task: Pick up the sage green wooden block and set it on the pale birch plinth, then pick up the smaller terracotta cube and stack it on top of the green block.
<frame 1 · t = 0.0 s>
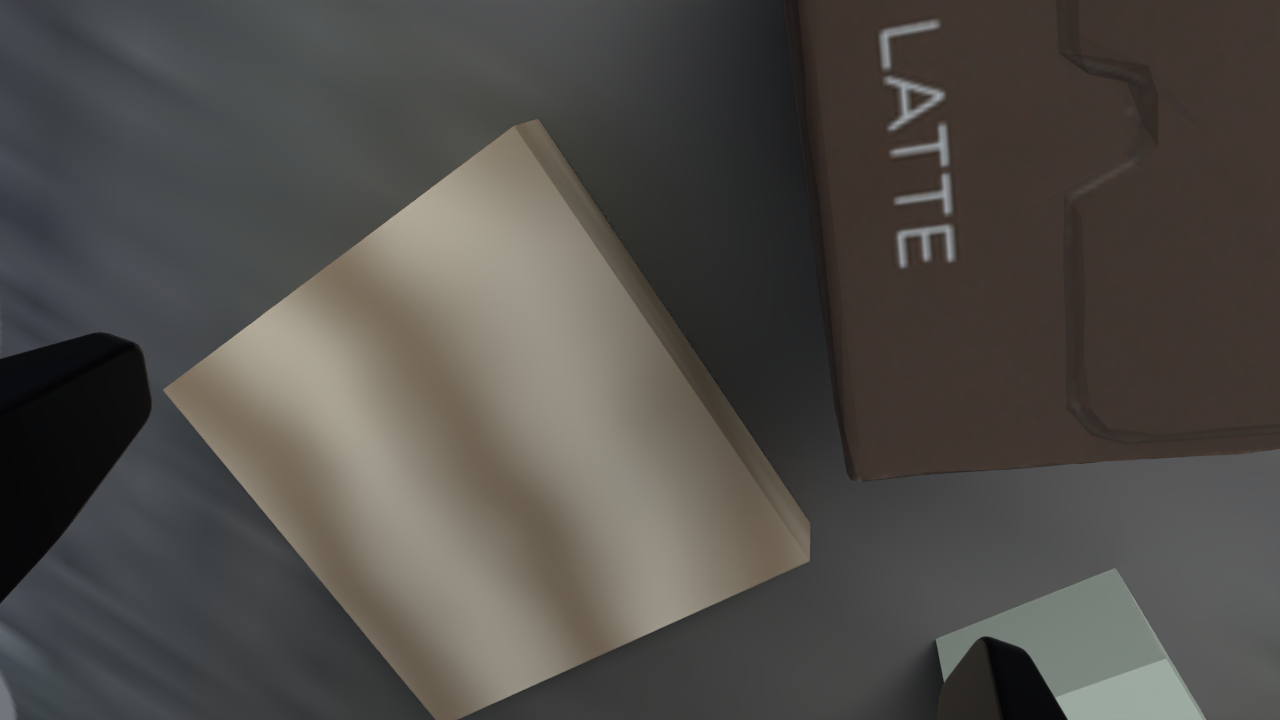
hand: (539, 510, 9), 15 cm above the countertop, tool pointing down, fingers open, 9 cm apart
birch plinth: (495, 441, 27), on the countertop
sage block: (1064, 670, 26), on the countertop
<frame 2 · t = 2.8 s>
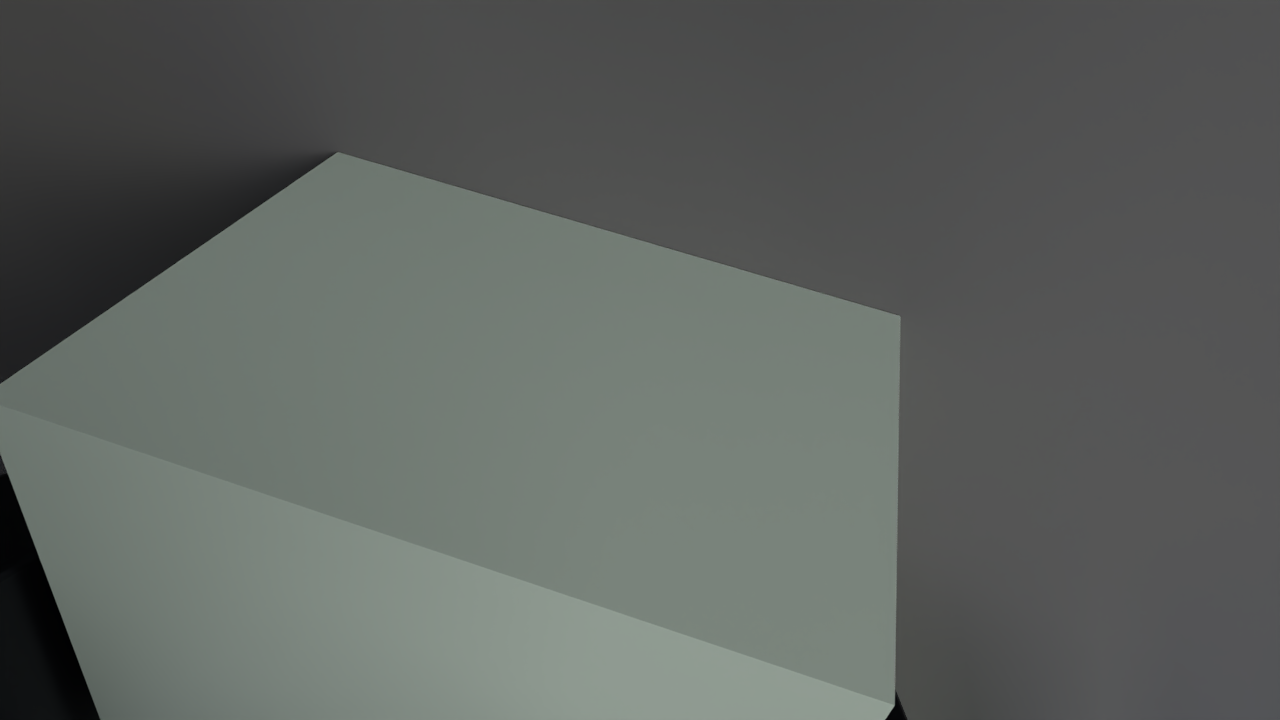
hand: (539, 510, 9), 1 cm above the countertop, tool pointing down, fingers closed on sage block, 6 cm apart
sage block: (571, 444, 10), on the countertop, touching gripper
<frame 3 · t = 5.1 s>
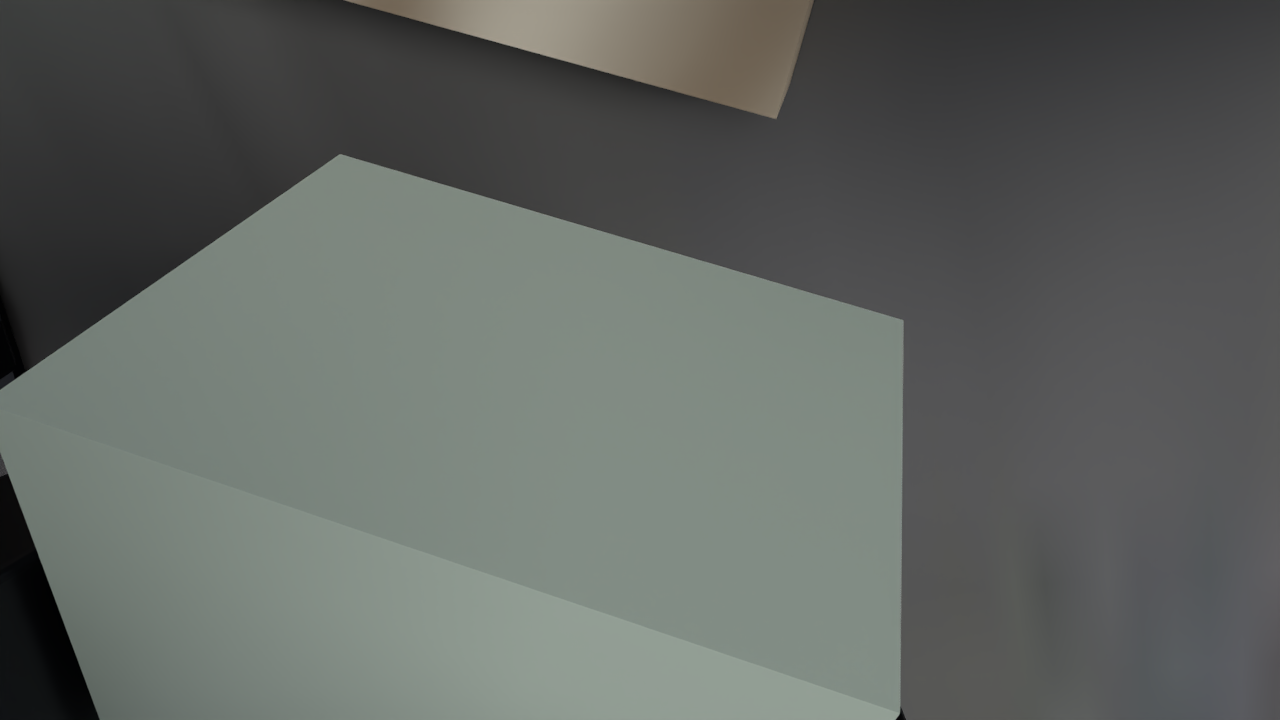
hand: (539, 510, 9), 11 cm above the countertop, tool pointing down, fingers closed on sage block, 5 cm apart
sage block: (572, 447, 10), point 10 cm above the countertop, touching gripper
when the fingers open (4 cm above the countertop, at t = 7.4 s): sage block drops 1 cm, resting on birch plinth.
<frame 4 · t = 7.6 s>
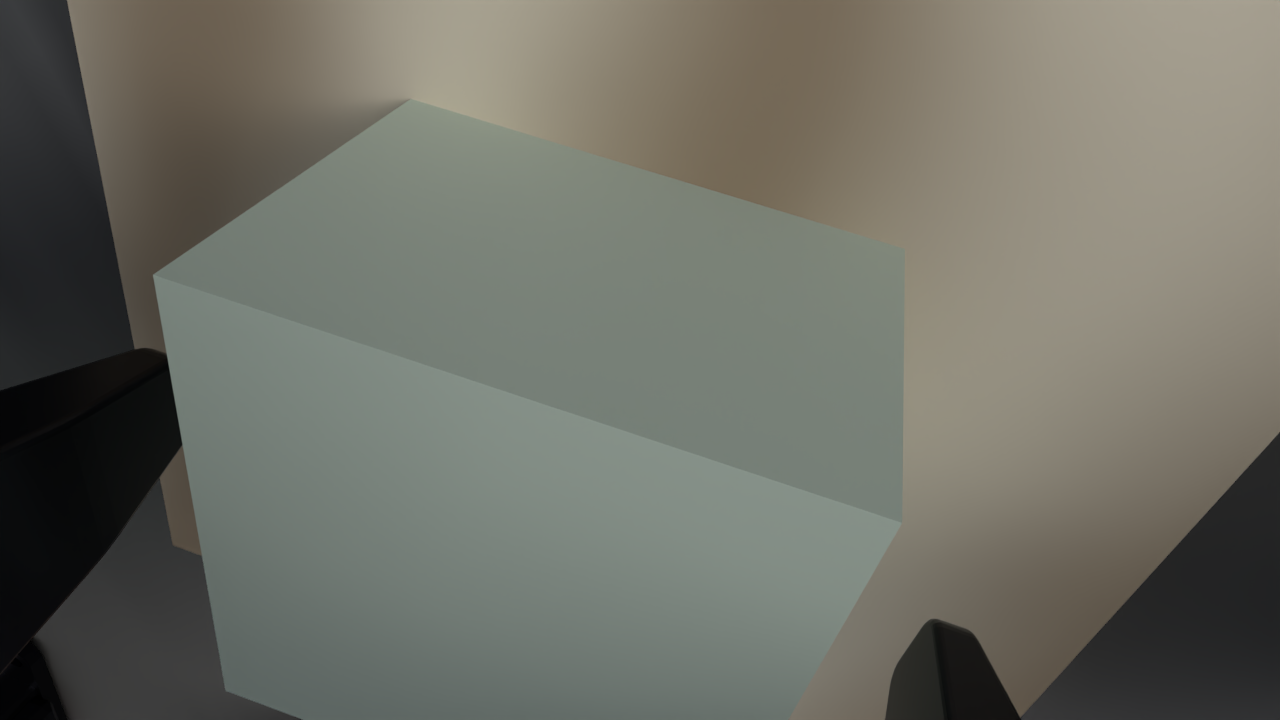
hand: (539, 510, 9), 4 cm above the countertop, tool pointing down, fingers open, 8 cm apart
birch plinth: (648, 292, 12), on the countertop
sage block: (606, 370, 11), point 2 cm above the countertop, touching birch plinth
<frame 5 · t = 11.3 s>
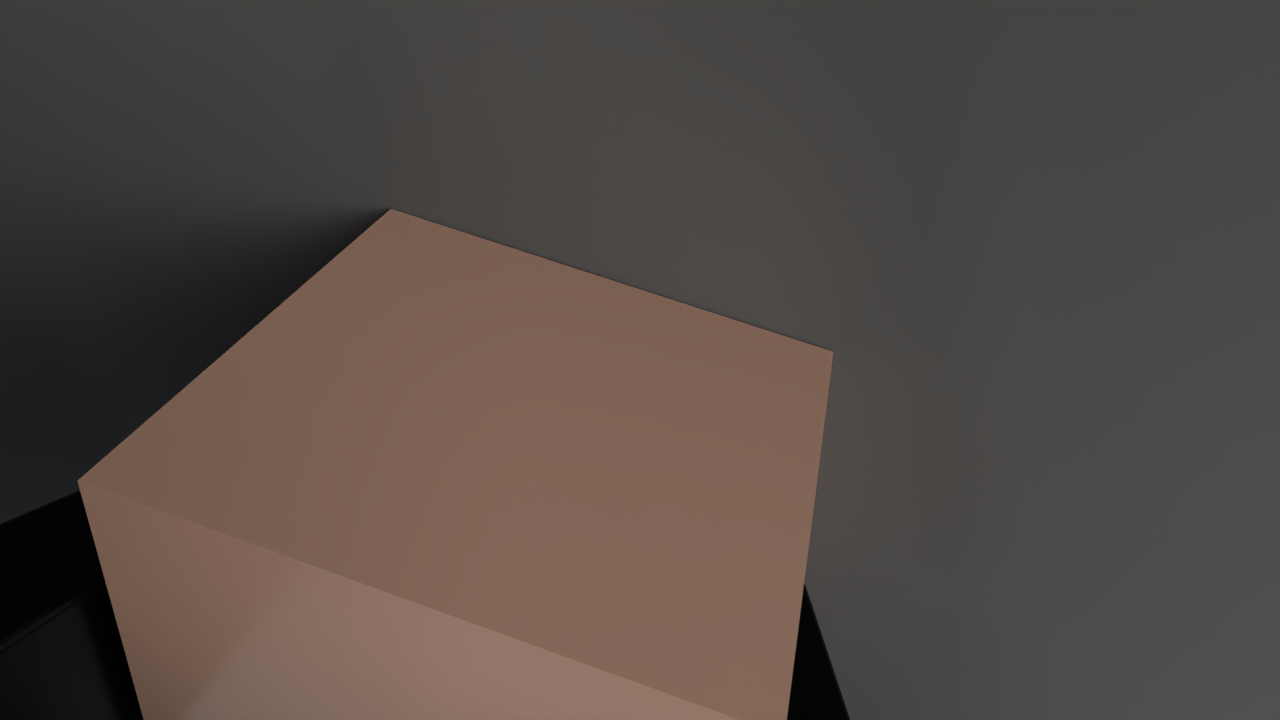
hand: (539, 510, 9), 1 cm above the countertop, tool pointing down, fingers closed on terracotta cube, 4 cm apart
terracotta cube: (570, 445, 10), on the countertop, touching gripper
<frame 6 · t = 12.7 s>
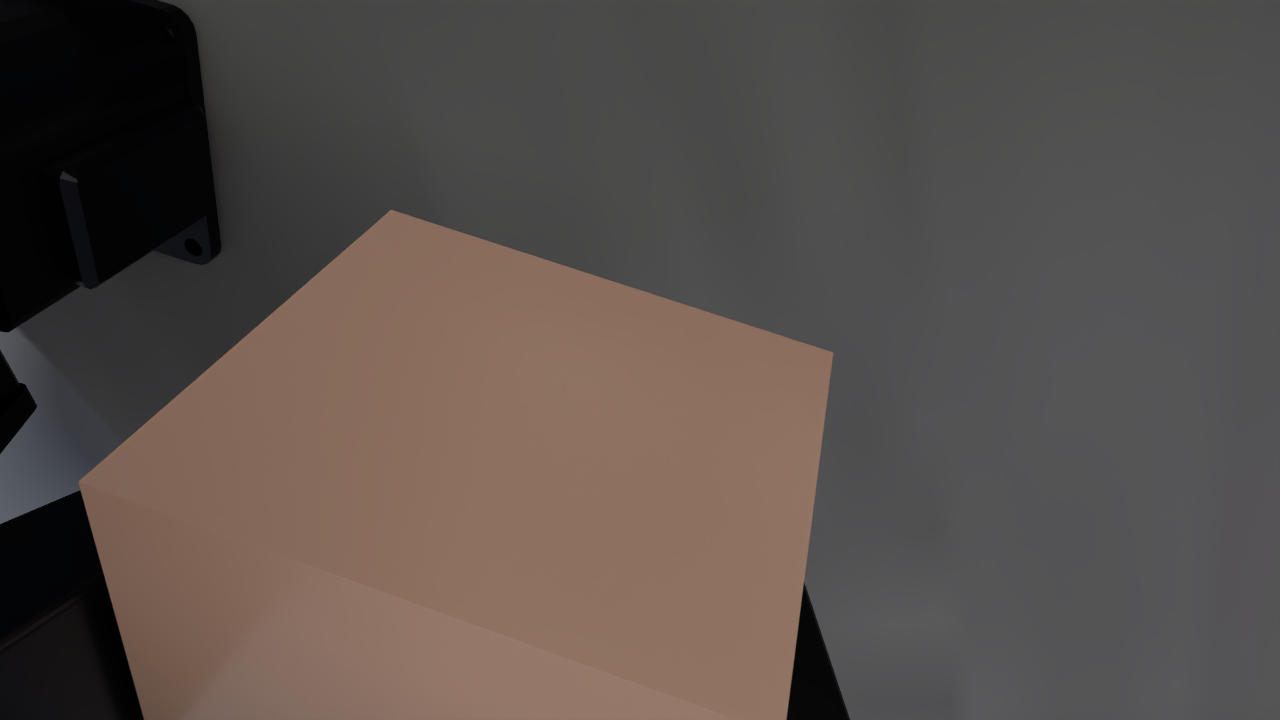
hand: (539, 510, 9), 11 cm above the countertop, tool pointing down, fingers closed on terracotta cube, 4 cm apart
terracotta cube: (570, 446, 10), point 10 cm above the countertop, touching gripper
when the fingers open (8 cm above the countertop, at t = 14.5 s): terracotta cube drops 1 cm, resting on sage block.
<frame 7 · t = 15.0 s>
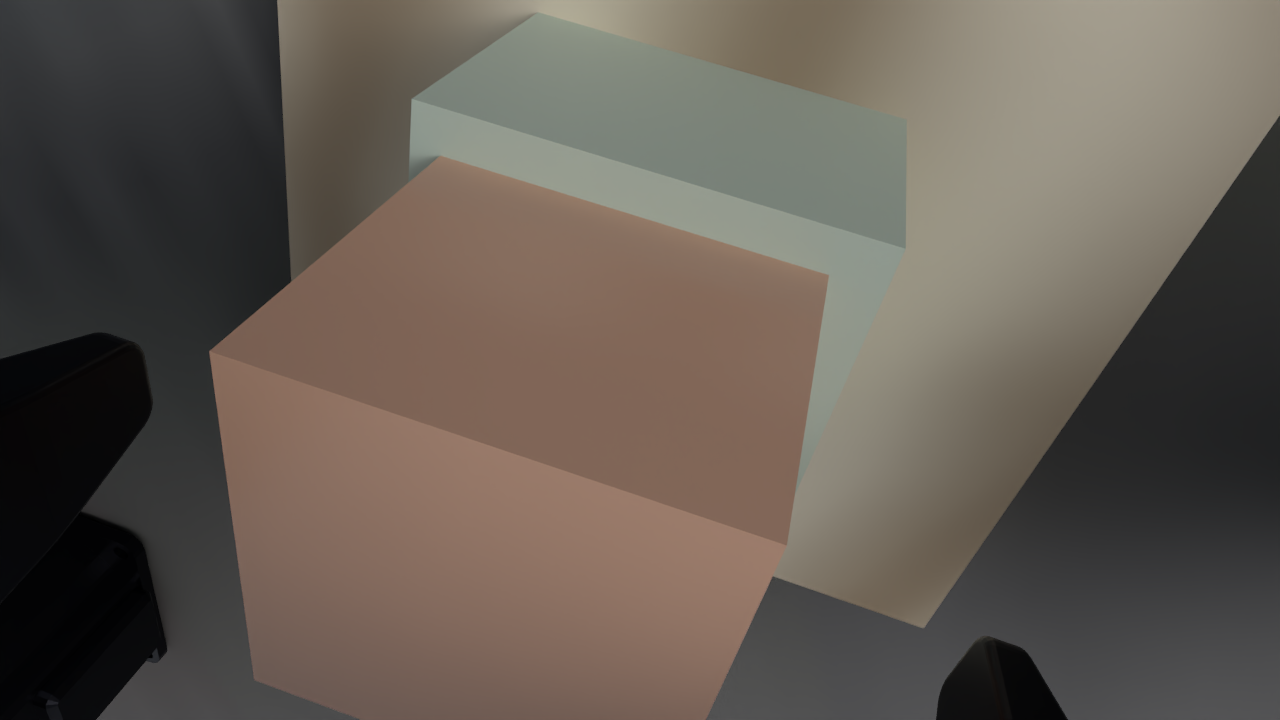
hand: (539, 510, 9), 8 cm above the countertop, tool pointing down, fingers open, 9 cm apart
birch plinth: (701, 182, 15), on the countertop
terracotta cube: (596, 371, 11), point 6 cm above the countertop, touching sage block
sage block: (676, 231, 14), point 2 cm above the countertop, touching birch plinth, terracotta cube
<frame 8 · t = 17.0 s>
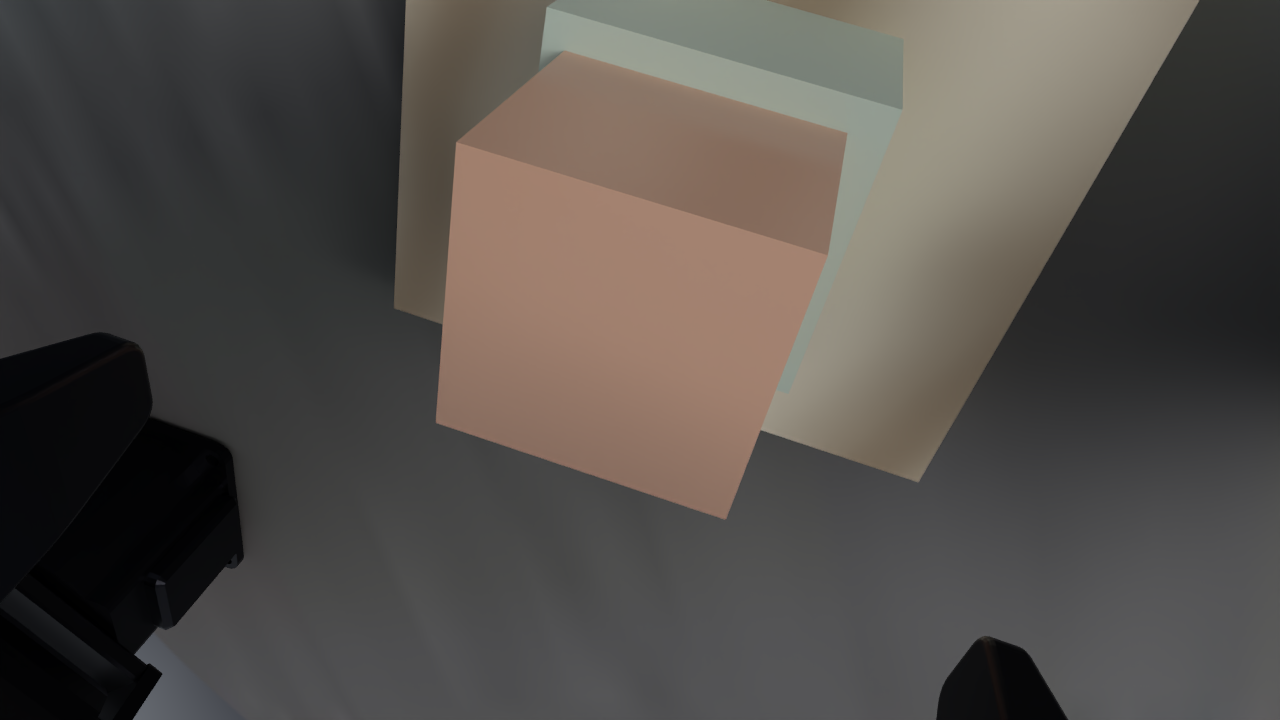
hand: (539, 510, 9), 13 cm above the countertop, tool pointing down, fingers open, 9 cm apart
birch plinth: (737, 105, 19), on the countertop
terracotta cube: (671, 220, 14), point 6 cm above the countertop, touching sage block
sage block: (720, 136, 18), point 2 cm above the countertop, touching birch plinth, terracotta cube
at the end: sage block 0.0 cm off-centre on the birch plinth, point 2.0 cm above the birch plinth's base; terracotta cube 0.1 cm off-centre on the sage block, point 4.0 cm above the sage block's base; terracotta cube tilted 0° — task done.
